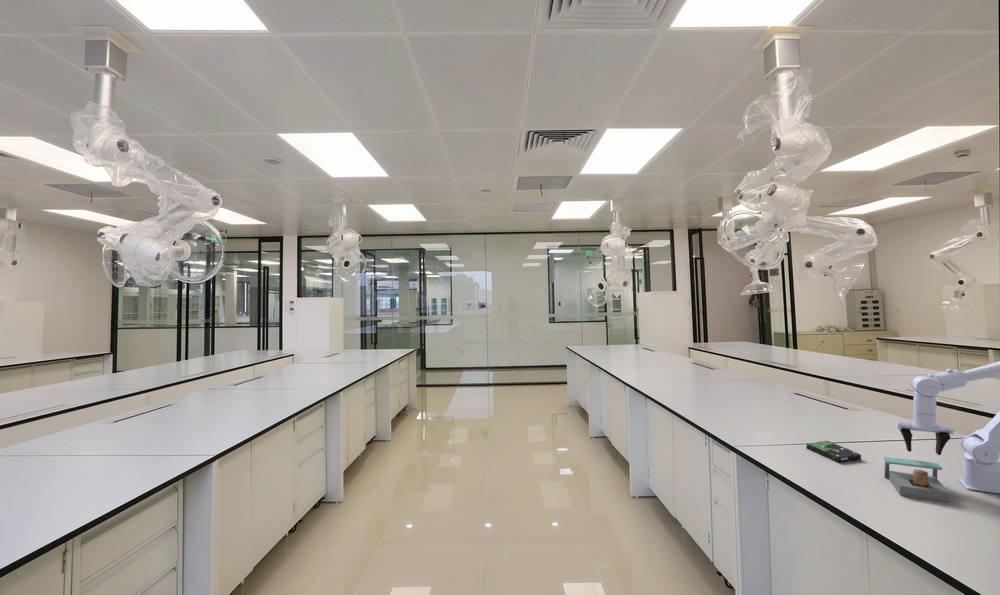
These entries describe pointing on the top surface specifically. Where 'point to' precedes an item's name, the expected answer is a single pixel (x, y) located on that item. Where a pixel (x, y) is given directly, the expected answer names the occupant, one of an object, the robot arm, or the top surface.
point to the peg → (920, 478)
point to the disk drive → (833, 451)
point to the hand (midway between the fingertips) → (923, 452)
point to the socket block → (906, 488)
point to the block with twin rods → (911, 463)
